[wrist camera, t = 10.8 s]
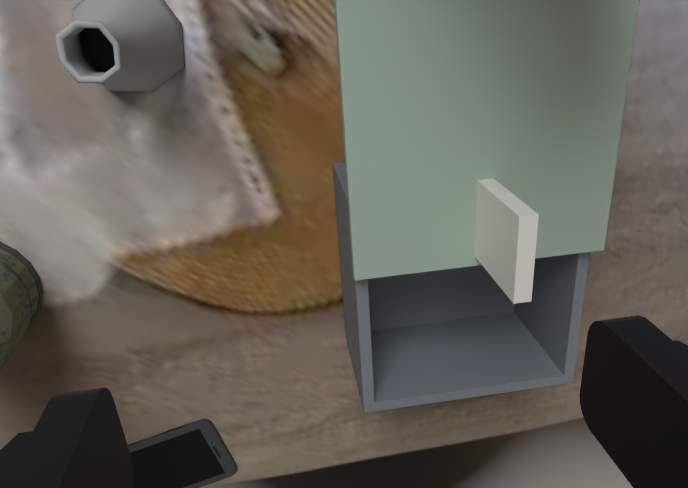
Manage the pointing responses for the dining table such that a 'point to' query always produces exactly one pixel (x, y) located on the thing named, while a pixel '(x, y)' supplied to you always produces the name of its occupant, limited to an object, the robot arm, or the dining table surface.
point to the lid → (480, 131)
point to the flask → (122, 44)
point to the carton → (456, 328)
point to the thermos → (16, 298)
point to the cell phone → (182, 458)
